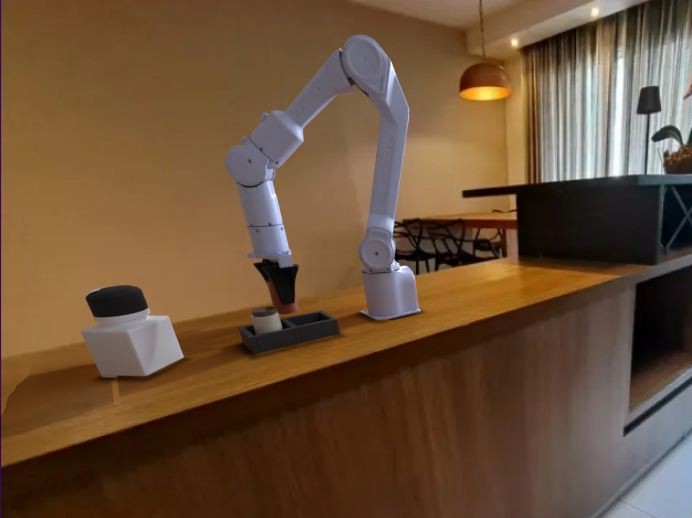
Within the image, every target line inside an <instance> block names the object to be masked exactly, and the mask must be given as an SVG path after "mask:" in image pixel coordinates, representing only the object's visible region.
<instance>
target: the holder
mask: <svg viewBox="0 0 692 518" xmlns="http://www.w3.org/2000/svg"><path fill="white" fill-rule="evenodd" d="M280 320H281V324H282V328H283V329H282V330H277V331H273V332H268V333H263V334H259V335H256V333H255V330H254V326H253V323H252V324H249V325H248V324H247V325H242V326H238V331H239V335H240V339H241V341H242V343H243V344H244V345H245V346H246V347H247V349H248V350H250V351H251V352H252V354H254V355H256V354H260V353H264V352H269V351H272V350H276V349H281V348H285V347H290V346H294V345H298V344H302V343H306V342H310V341H315V340H319V339H323V338H327V337H332V336H335V335H340V334H341V331H340V325H339V320H338V318H337V317H335V316H333V315H331V314H329V313H328V312H325V311H323V310H317V311H313V312H307V313H301V314H297V315H293V316H286V317H282V318H280Z"/></svg>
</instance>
